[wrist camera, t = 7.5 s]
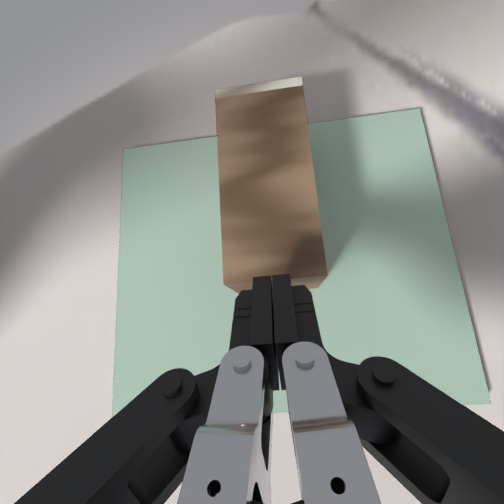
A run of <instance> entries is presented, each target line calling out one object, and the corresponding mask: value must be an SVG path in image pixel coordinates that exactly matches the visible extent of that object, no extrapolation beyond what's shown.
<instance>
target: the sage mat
mask: <svg viewBox="0 0 504 504" xmlns="http://www.w3.org/2000/svg"><path fill="white" fill-rule="evenodd" d="M308 130H309V138H310V145H311V153H312V160H313V168H314V176H315V183H316V191H317V198H318V206H319V214H320V221H321V229H322V236H323V244H324V252H325V259H326V267H327V274H328V276H327V277H326V278H325V280H324V281H323V282H322V284H321V285H320V286H319V287H318V288H314V289H309V291H310V292H311V293H312V298H313V303H314V307H315V312H316V316H317V321H318V326H319V330H320V335H321V340H322V343H323V346H324V348H325V349H326V351H327V352H328V353H329V354H330V355H332V356H333V357H335V358H337V359H339V360H341V361H345V362H349V363H354V364H358V365H360V363H361V362H362V361H363V360H365V359H367V358H370V357H375V356H381V357H386V358H390V359H392V360H394V361H396V362H398V363H399V364H401V365H402V366H404V367H406V368H407V369H409V370H410V371H412V372H413V373H415V374H416V375H418V376H419V377H421V378H422V379H424V380H425V381H427V382H428V383H430V384H431V385H433V386H435V387H436V388H438V389H439V390H441V391H442V392H444V393H445V394H447V395H448V396H450V397H451V398H453V399H454V400H456V401H457V402H459V403H461V404H462V405H475V404H491V400H490V396H489V392H488V388H487V384H486V380H485V376H484V371H483V367H482V363H481V359H480V355H479V351H478V347H477V343H476V338H475V334H474V330H473V326H472V322H471V318H470V314H469V310H468V305H467V301H466V297H465V293H464V289H463V285H462V281H461V277H460V272H459V268H458V264H457V260H456V256H455V252H454V248H453V244H452V239H451V235H450V231H449V227H448V223H447V219H446V215H445V211H444V206H443V202H442V198H441V194H440V190H439V186H438V182H437V178H436V173H435V169H434V165H433V161H432V157H431V153H430V149H429V145H428V140H427V136H426V132H425V128H424V124H423V120H422V116H421V112H420V108H419V109H411V110H404V111H397V112H390V113H382V114H375V115H368V116H361V117H353V118H346V119H339V120H332V121H324V122H317V123H310V124H308ZM238 295H239V294H238V293H237V292H235V291H233V290H232V289H230V288H228V287H227V286H225V285H224V284H223V262H222V239H221V216H220V194H219V171H218V149H217V136H215V137H208V138H201V139H194V140H186V141H179V142H172V143H165V144H157V145H150V146H143V147H135V148H128V149H123V171H122V194H121V216H120V239H119V262H118V285H117V308H116V331H115V354H114V377H113V400H112V417H113V416H115V415H116V414H117V413H118V412H119V411H120V410H121V409H123V408H124V407H125V406H126V405H127V404H128V403H129V402H131V401H132V400H133V399H134V398H135V397H136V396H137V395H139V394H140V393H141V392H142V391H143V390H144V389H145V388H147V387H148V386H149V385H150V384H151V383H152V382H153V381H155V380H156V379H157V378H158V377H159V376H160V375H162V374H163V373H165V372H166V371H169V370H171V369H175V368H184V369H187V370H189V371H190V372H192V373H193V375H194V376H195V375H198V374H200V373H203V372H206V371H209V370H211V369H213V368H215V367H216V366H218V365H219V364H220V363H221V360H222V358H223V356H224V355H225V354H226V353H227V352H228V351H229V345H230V337H231V329H232V321H233V313H234V305H235V299H236V298H237V296H238ZM279 389H280V390H277V391H273V413H274V412H289V410H288V402H287V395H286V390H281V383H280V376H279Z"/></svg>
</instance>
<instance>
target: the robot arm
mask: <svg viewBox="0 0 504 504" xmlns="http://www.w3.org/2000/svg"><path fill="white" fill-rule="evenodd" d="M272 286H273V287H272ZM279 376H280V383H281V390H286V395H287V402H288V410H289V417H290V424H291V431H292V437H293V444H294V450H295V457H296V464H297V470H298V477H299V484H300V491H301V498H302V500H300V501H297V502H295V503H292V504H381V501H380V498H379V495H378V492H377V489H376V486H375V483H374V480H373V477H372V474H371V471H370V468H369V466H368V463H367V460H366V457H365V454H364V451H363V448H362V446H363V447H364V448H365V449H366V450H367V451H368V452H369V453H370V454H371V455H372V456H373V457H374V458H375V459H376V460H377V461H378V462H379V463H380V464H381V465H382V466H384V467H385V468H386V469H387V470H388V471H389V472H390V473H391V474H392V475H393V476H394V477H395V478H396V479H397V480H398V481H399V482H400V483H401V484H402V485H403V486H404V487H405V488H406V489H407V490H408V491H409V492H410V493H412V494H413V495H414V496H415V497H416V498H417V499H418V500H419V501H420V502H421V503H422V504H504V432H503V431H502V430H500V429H499V428H497V427H496V426H494V425H493V424H491V423H490V422H488V421H486V420H485V419H483V418H482V417H480V416H479V415H477V414H476V413H474V412H473V411H471V410H470V409H468V408H467V407H465V406H464V405H462V404H461V403H459V402H457V401H456V400H454V399H453V398H451V397H450V396H448V395H447V394H445V393H444V392H442V391H441V390H439V389H438V388H436V387H435V386H433V385H431V384H430V383H428V382H427V381H425V380H424V379H422V378H421V377H419V376H418V375H416V374H415V373H413V372H412V371H410V370H409V369H407V368H406V367H404V366H402V365H401V364H399V363H398V362H396V361H394V360H392V359H390V358H386V357H381V356H375V357H370V358H367V359H365V360H363V361H362V362H361V363H360V365H358V364H354V363H349V362H345V361H341V360H339V359H337V358H335V357H333V356H332V355H330V354H329V353H328V352H327V351H326V349H325V348H324V346H323V343H322V340H321V335H320V330H319V326H318V321H317V316H316V312H315V307H314V303H313V298H312V293H311V292H310V291H309V289H308V288H307V287H306V286H305V285H296V286H291V279H290V274H279V275H272V280H271V275H269V276H259V277H253V285H252V290H241V292H240V293H239V295H238V296H237V298H236V299H235V305H234V313H233V321H232V329H231V337H230V345H229V351H228V352H227V353H226V354H225V355H224V356H223V358H222V360H221V363H220V364H219V365H218V366H216V367H215V368H213V369H211V370H209V371H206V372H203V373H200V374H198V375H195V376H194V375H193V373H192V372H190V371H189V370H187V369H184V368H175V369H171V370H169V371H166V372H165V373H163V374H162V375H160V376H159V377H158V378H157V379H156V380H155V381H153V382H152V383H151V384H150V385H149V386H148V387H147V388H145V389H144V390H143V391H142V392H141V393H140V394H139V395H137V396H136V397H135V398H134V399H133V400H132V401H131V402H129V403H128V404H127V405H126V406H125V407H124V408H123V409H121V410H120V411H119V412H118V413H117V414H116V415H115V416H113V417H112V418H111V419H110V420H109V421H108V422H107V423H105V424H104V425H103V426H102V427H101V428H100V429H99V430H97V431H96V432H95V433H94V434H93V435H92V436H91V437H89V438H88V439H87V440H86V441H85V442H84V443H83V444H82V445H80V446H79V447H78V448H77V449H76V450H75V451H74V452H72V453H71V454H70V455H69V456H68V457H67V458H66V459H64V460H63V461H62V462H61V463H60V464H59V465H58V466H56V467H55V468H54V469H53V470H52V471H51V472H50V473H48V474H47V475H46V476H45V477H44V478H43V479H42V480H40V481H39V482H38V483H37V484H36V485H35V486H34V487H32V488H31V489H30V490H29V491H28V492H27V493H26V494H24V495H23V496H22V497H21V498H20V499H19V500H18V501H16V502H15V503H14V504H164V503H165V502H166V501H167V499H168V498H169V497H170V496H171V495H172V493H173V492H174V491H175V490H176V489H177V487H178V486H179V485H180V484H181V483H182V486H181V490H180V494H179V498H178V502H177V504H271V485H270V469H271V448H272V428H273V391H277V390H280V389H279ZM182 481H183V482H182Z"/></svg>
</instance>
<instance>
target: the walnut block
mask: <svg viewBox="0 0 504 504" xmlns="http://www.w3.org/2000/svg"><path fill="white" fill-rule="evenodd" d="M215 103H216V126H217V149H218V171H219V194H220V216H221V239H222V262H223V284H224V285H225V286H227V287H228V288H230V289H232V290H233V291H235V292H237V293H238V294H239V293H240V292H241V290H252V285H253V277H259V276H269V275H271V280H272V275H279V274H290V279H291V286H296V285H305V286H306V287H307V288H308V289H314V288H318V287H319V286H320V285H321V284H322V282H323V281H324V280H325V278H326V277H327V276H328V274H327V267H326V259H325V252H324V244H323V236H322V229H321V221H320V214H319V206H318V198H317V191H316V183H315V176H314V168H313V160H312V153H311V145H310V138H309V130H308V122H307V115H306V107H305V100H304V92H303V84H302V77H295V78H288V79H282V80H275V81H269V82H262V83H256V84H249V85H243V86H236V87H230V88H223V89H217V90H215ZM272 287H273V286H272Z"/></svg>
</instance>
